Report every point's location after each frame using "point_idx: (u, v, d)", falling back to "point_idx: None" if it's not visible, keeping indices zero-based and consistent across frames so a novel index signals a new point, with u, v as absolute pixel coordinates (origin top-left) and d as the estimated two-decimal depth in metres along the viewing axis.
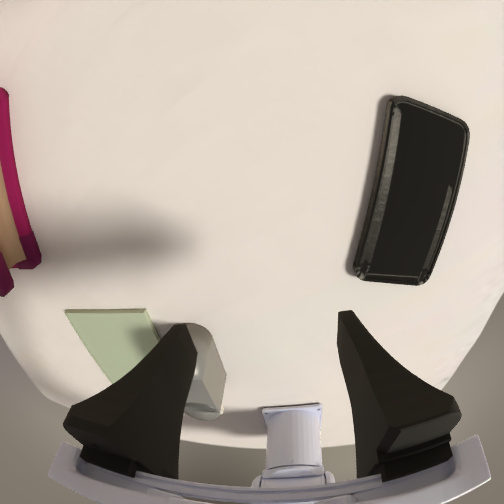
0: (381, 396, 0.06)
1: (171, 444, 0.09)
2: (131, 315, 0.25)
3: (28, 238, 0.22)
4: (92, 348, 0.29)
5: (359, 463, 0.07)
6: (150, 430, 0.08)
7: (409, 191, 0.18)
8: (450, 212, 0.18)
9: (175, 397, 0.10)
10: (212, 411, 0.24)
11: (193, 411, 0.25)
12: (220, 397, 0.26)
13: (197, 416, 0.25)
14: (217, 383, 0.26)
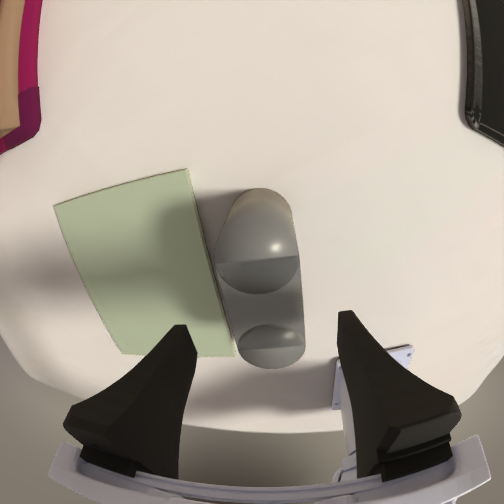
0: (381, 396, 0.06)
1: (171, 444, 0.09)
2: (162, 180, 0.16)
3: (31, 91, 0.13)
4: (86, 268, 0.20)
5: (359, 463, 0.07)
6: (150, 429, 0.08)
7: (495, 47, 0.09)
8: None
9: (175, 397, 0.10)
10: (294, 345, 0.15)
11: (257, 349, 0.16)
12: None
13: (262, 360, 0.16)
14: None
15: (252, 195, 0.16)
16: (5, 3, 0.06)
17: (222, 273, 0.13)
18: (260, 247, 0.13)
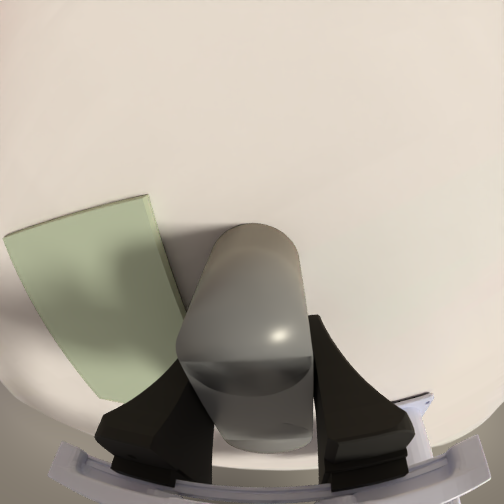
0: (328, 405, 0.06)
1: (206, 448, 0.09)
2: (113, 212, 0.11)
3: None
4: (45, 311, 0.15)
5: (319, 469, 0.08)
6: (188, 435, 0.08)
7: None
8: None
9: None
10: (298, 437, 0.10)
11: (249, 440, 0.10)
12: None
13: (256, 448, 0.11)
14: None
15: (240, 239, 0.10)
16: None
17: (192, 372, 0.08)
18: (249, 346, 0.07)
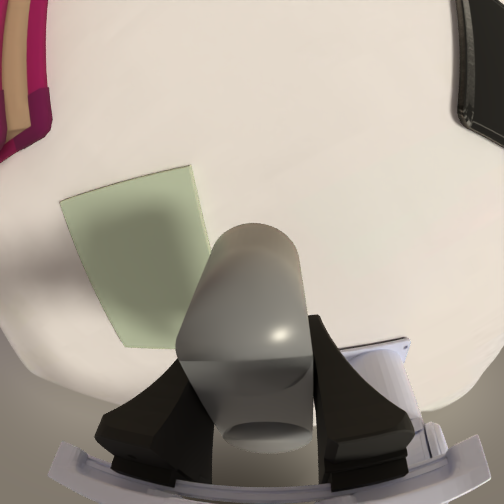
0: (328, 405, 0.06)
1: (206, 448, 0.09)
2: (166, 176, 0.17)
3: (41, 92, 0.14)
4: (91, 262, 0.21)
5: (319, 469, 0.08)
6: (188, 435, 0.08)
7: (488, 47, 0.10)
8: None
9: None
10: (298, 437, 0.10)
11: (249, 440, 0.10)
12: None
13: (256, 448, 0.11)
14: None
15: (240, 239, 0.10)
16: (10, 7, 0.07)
17: (192, 372, 0.08)
18: (249, 346, 0.07)
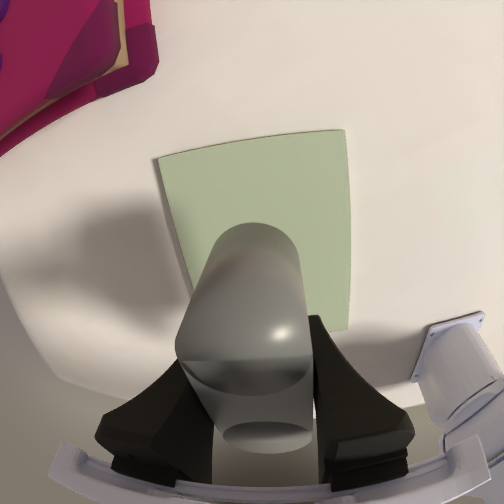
0: (328, 405, 0.06)
1: (206, 448, 0.09)
2: (319, 137, 0.15)
3: (149, 27, 0.12)
4: (193, 235, 0.19)
5: (319, 469, 0.08)
6: (188, 434, 0.08)
7: None
8: None
9: None
10: (298, 437, 0.10)
11: (249, 440, 0.10)
12: None
13: (256, 447, 0.11)
14: None
15: (240, 238, 0.10)
16: None
17: (192, 371, 0.08)
18: (249, 345, 0.07)
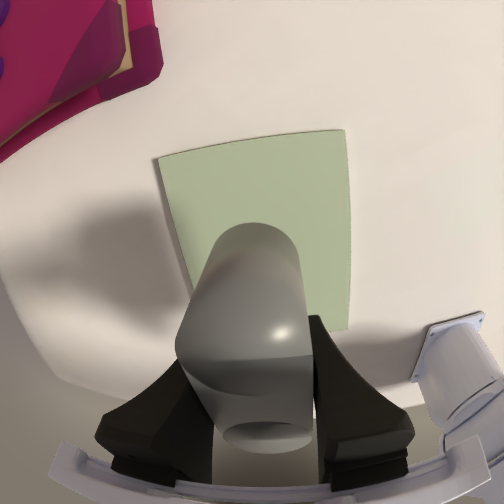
0: (328, 405, 0.06)
1: (206, 448, 0.09)
2: (319, 137, 0.15)
3: (152, 29, 0.12)
4: (193, 235, 0.19)
5: (319, 469, 0.08)
6: (188, 434, 0.08)
7: None
8: None
9: None
10: (298, 437, 0.10)
11: (249, 440, 0.10)
12: None
13: (256, 447, 0.11)
14: None
15: (240, 238, 0.10)
16: None
17: (192, 371, 0.08)
18: (249, 345, 0.07)
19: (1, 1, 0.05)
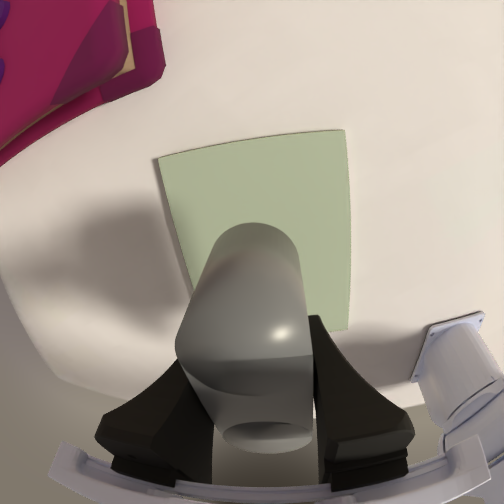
0: (328, 405, 0.06)
1: (206, 448, 0.09)
2: (319, 137, 0.15)
3: (154, 30, 0.12)
4: (193, 235, 0.19)
5: (319, 469, 0.08)
6: (188, 434, 0.08)
7: None
8: None
9: None
10: (298, 437, 0.10)
11: (249, 440, 0.10)
12: None
13: (256, 447, 0.11)
14: None
15: (240, 238, 0.10)
16: None
17: (192, 371, 0.08)
18: (249, 345, 0.07)
19: (1, 3, 0.05)
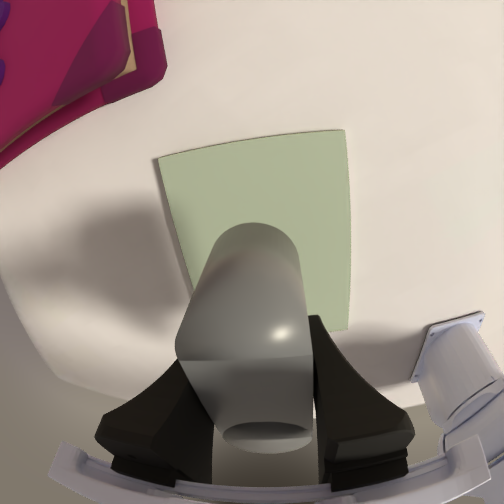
0: (328, 405, 0.06)
1: (206, 448, 0.09)
2: (319, 137, 0.15)
3: (156, 31, 0.12)
4: (193, 235, 0.19)
5: (319, 469, 0.08)
6: (188, 434, 0.08)
7: None
8: None
9: None
10: (298, 437, 0.10)
11: (249, 440, 0.10)
12: None
13: (256, 447, 0.11)
14: None
15: (240, 238, 0.10)
16: None
17: (192, 371, 0.08)
18: (249, 345, 0.07)
19: (1, 4, 0.05)
